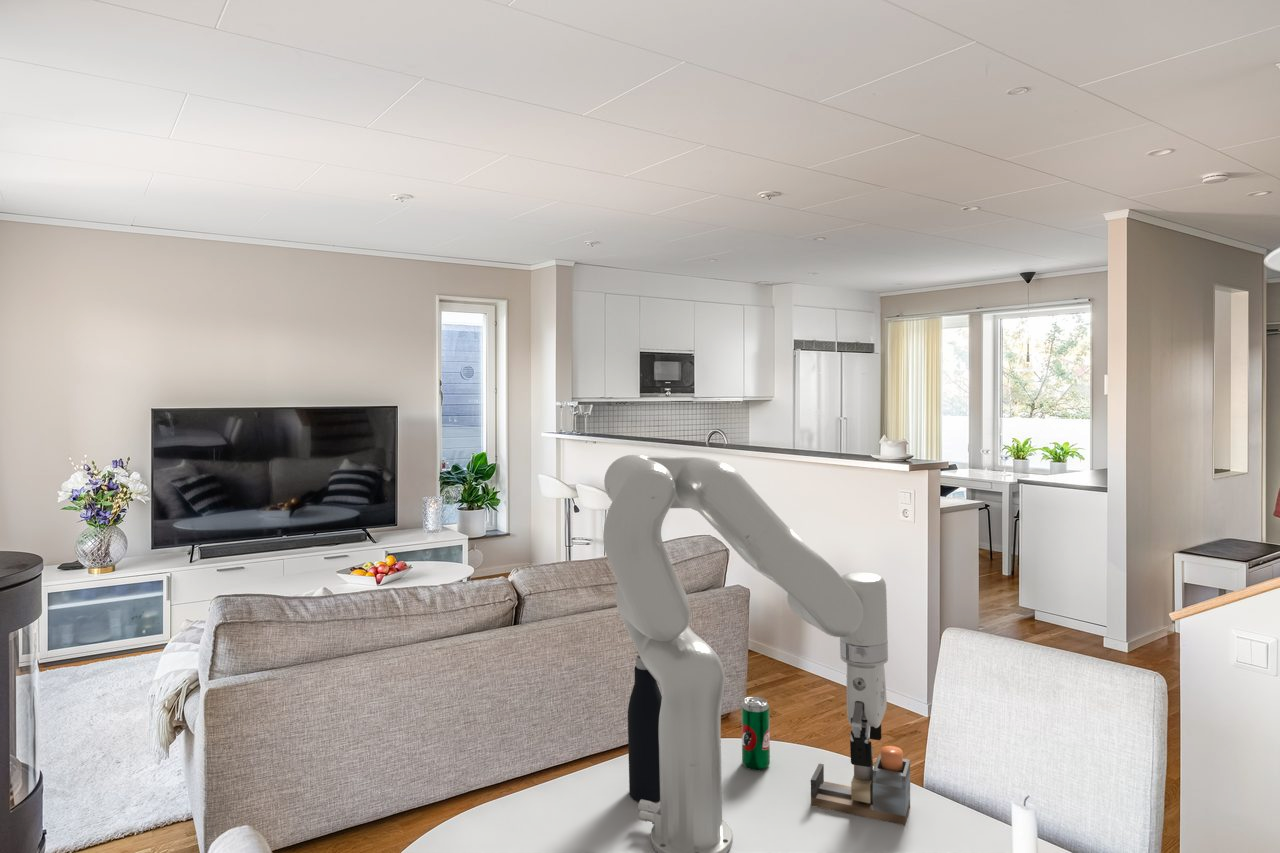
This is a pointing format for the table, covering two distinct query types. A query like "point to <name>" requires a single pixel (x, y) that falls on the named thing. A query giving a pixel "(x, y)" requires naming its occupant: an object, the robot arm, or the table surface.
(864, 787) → the carriage
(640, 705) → the wine bottle
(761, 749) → the soda can
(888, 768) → the button
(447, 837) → the table surface
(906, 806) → the stand
